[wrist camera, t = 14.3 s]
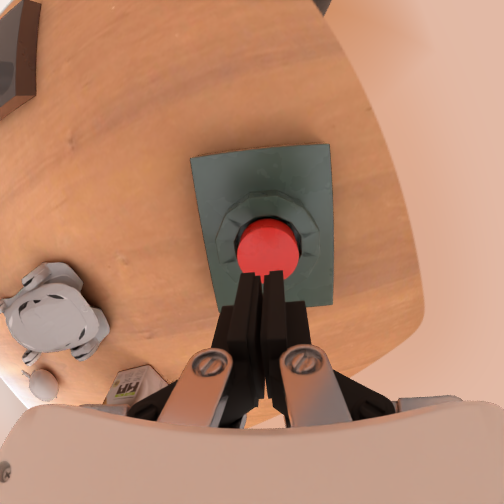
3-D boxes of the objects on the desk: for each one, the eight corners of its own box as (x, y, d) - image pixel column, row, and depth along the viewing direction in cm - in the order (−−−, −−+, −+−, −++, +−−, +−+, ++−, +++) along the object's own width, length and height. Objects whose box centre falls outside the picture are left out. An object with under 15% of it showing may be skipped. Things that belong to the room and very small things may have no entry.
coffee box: (116, 371, 30) (65, 472, 15) (150, 363, 28) (99, 484, 14) (159, 412, 33) (128, 508, 18) (195, 408, 32) (168, 517, 17)
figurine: (13, 378, 32) (19, 385, 26) (25, 356, 36) (34, 358, 29) (46, 403, 35) (61, 415, 29) (56, 381, 39) (73, 388, 33)
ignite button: (236, 221, 17) (232, 230, 16) (294, 215, 17) (297, 224, 15) (243, 272, 19) (241, 286, 17) (298, 268, 18) (300, 281, 17)
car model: (-4, 298, 28) (-23, 316, 23) (76, 239, 23) (44, 262, 18) (36, 355, 32) (20, 375, 27) (134, 331, 27) (115, 363, 22)
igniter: (197, 155, 19) (180, 161, 16) (323, 142, 18) (336, 144, 15) (223, 297, 24) (214, 326, 20) (328, 290, 23) (336, 319, 19)
